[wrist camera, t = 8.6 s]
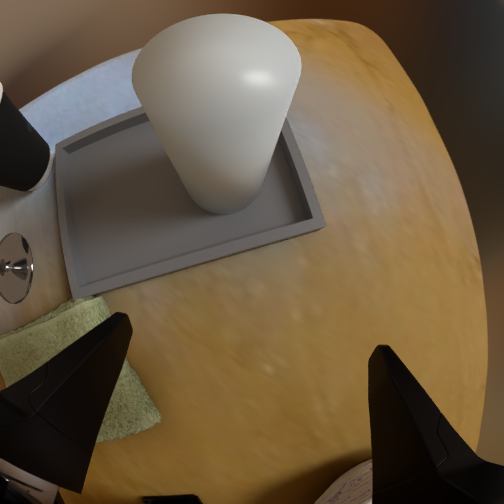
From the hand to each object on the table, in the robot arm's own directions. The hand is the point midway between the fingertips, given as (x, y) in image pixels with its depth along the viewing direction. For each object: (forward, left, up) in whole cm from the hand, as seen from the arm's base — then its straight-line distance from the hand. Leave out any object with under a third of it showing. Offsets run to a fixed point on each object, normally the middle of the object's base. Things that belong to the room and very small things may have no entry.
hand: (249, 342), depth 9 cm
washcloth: (-18, -3, -12) cm, 22 cm away
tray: (-2, +11, -12) cm, 16 cm away
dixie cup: (-16, +18, -12) cm, 27 cm away
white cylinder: (+2, +10, -11) cm, 15 cm away
